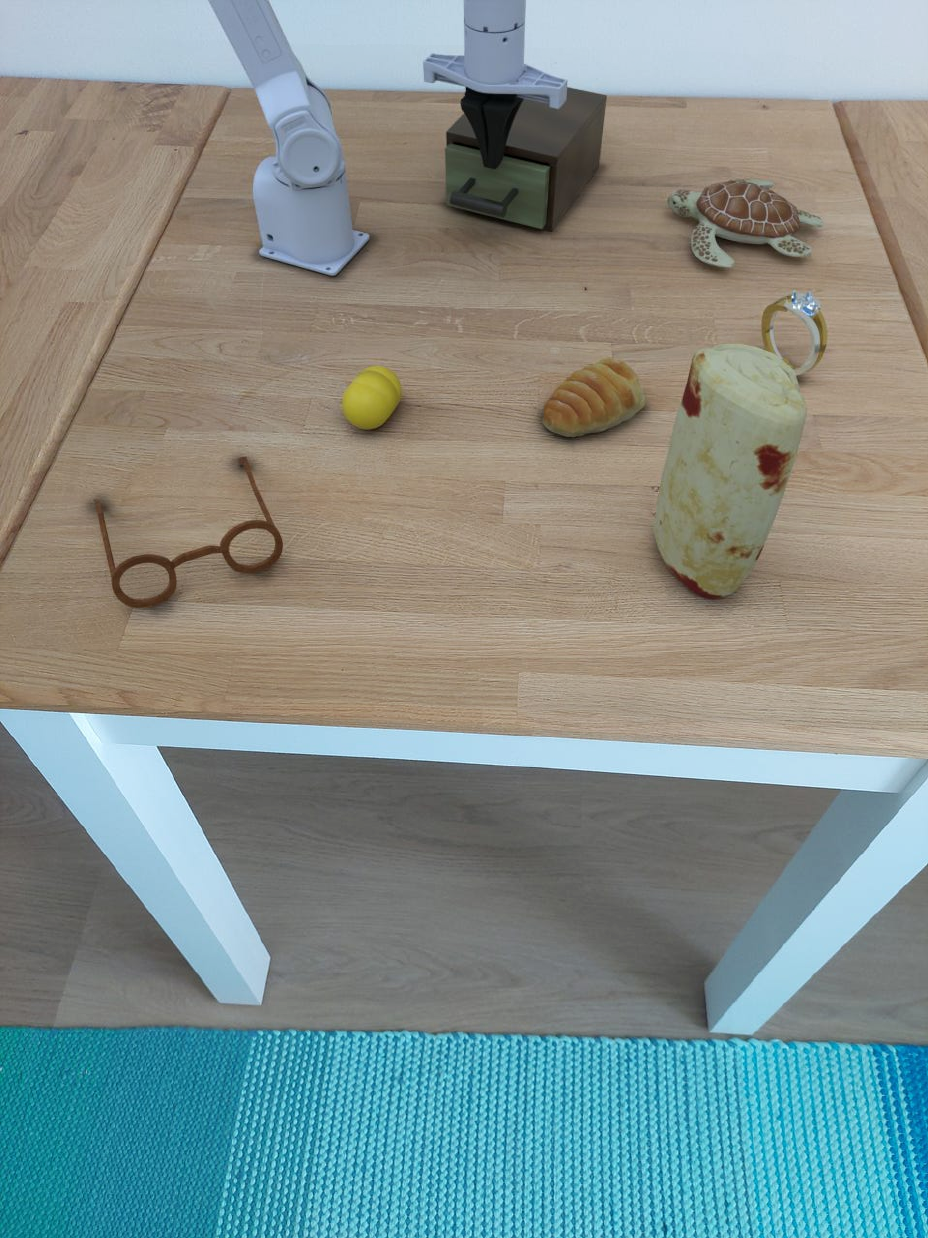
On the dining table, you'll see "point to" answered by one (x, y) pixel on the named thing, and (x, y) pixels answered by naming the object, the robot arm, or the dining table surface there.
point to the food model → (727, 465)
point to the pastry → (594, 399)
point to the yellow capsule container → (371, 397)
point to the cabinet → (553, 143)
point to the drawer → (497, 186)
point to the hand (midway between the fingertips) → (493, 163)
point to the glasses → (191, 552)
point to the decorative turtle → (741, 219)
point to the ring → (808, 314)
